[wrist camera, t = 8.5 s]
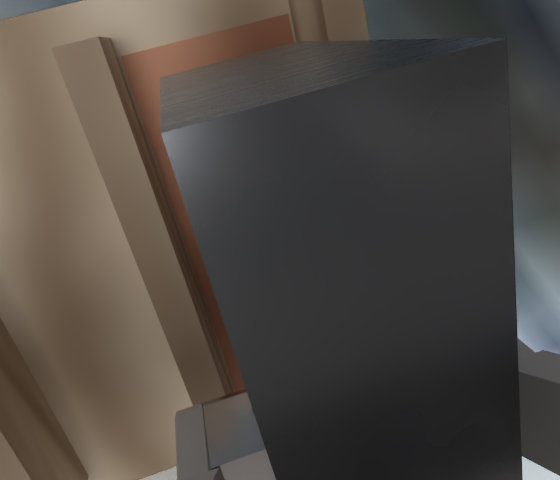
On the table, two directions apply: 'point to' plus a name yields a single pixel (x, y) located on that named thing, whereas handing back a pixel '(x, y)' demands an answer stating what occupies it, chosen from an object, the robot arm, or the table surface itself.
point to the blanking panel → (361, 250)
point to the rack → (113, 229)
